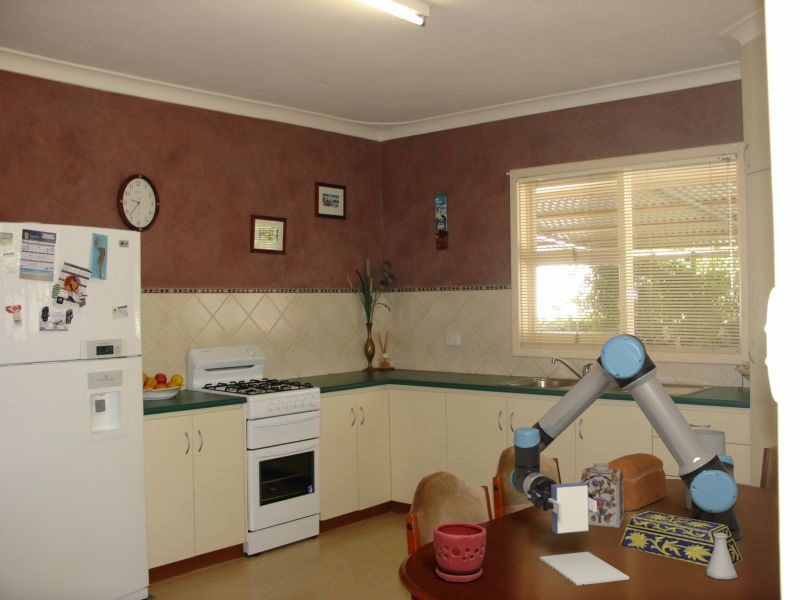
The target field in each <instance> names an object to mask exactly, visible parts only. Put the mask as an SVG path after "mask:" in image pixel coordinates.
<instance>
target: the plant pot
mask: <svg viewBox="0 0 800 600" xmlns="http://www.w3.org/2000/svg"><path fill="white" fill-rule="evenodd" d="M432 533H433V550H434V556H435V558H436V562H437V563H438V565H437V566H436V567H435V572H436V574H437V576H438V577H439V578H441V579H443V580H445V581H446V582H456V583H467V582H472V581H475V580H477V579H478V578H480V577H481V576H482V574H483V568H482V567H481V566H482V563H483V561H484V557H485V553H486V545H487V529H486V528H484V527H483V526H480V525H477V524H473V523H468V522H467V523H465V522H464V523H463V522H450V523H449V522H447V523H442V524H437V525H436V526H435V527H434V529H433V532H432Z"/></svg>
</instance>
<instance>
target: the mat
mask: <svg viewBox="0 0 800 600" xmlns="http://www.w3.org/2000/svg"><path fill="white" fill-rule="evenodd" d="M540 559H541V560H540ZM539 560H540V561H541V562H543V561H544V562H545V563H544V562H543V563H544V564H546V565H547V564H548V565H547V566H549V567H550V568H551V567H552V568H551V569H553V570H554V569H555V570H554V571H556V572H557V571H558V572H559V573H558V572H557V573H558V574H560V575H561V574H562V575H561V576H563V578H565V577H566V578H565V579H567V580H568V579H569V580H568V581H569V582H571V583H572V582H573V585H575V586H584V585H591V584H592V585H593V584H602V583H609V582H619V581H626V580H630V576H628V575H627V574H625V573H624V572H622V571H620V570H619V569H617V568H615V567H614V566H612V565H610V564H609V563H607V562H606V561H604V560H602V559H600V558H599V557H598V556H597V555H596V556H595V555H594V554H593V553H591V552H590V551H583V552H574V553H571V552H570V553H562V554H554V555H553V554H552V555H544V556H539ZM583 584H584V585H583Z"/></svg>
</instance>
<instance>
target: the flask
mask: <svg viewBox="0 0 800 600" xmlns="http://www.w3.org/2000/svg"><path fill="white" fill-rule="evenodd" d="M713 535H714V537H715V543H714V549H713V552H712V555H711V558H710V561H709V564H708V566H706V569H705V573H706V575H707V576H708V577H711V578H712V579H716V580H728V581H729V580H733V579H737V578H739V577H738V574H737V572H736V569H735V565H733V564H732V561H731V558H730V556H729V553H728V549H727V543H726V538H727V537H728V536H727V534H724V533H714V534H713Z"/></svg>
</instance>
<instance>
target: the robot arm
mask: <svg viewBox="0 0 800 600" xmlns="http://www.w3.org/2000/svg"><path fill="white" fill-rule="evenodd" d="M657 370H658V367H657V366H656V364H655V363H654V361H653V360H652V359H651V357H650V356H649V354H648V353H647V350H646V346H645V344H644V343H643V341H642V340H641V339H640V338H638V337H637V336H635V335H632V334H630V333H629V334H627V333H622V334H617V335H614V336H613V337H610V338H609V339H608V340H606V341H605V343H604V344H603V346H602V348H601V351H600V356H599V357H598V358H597V359H595V365H594V366H593V367H592V368H591V369H590V370H589V371H588V372H587V373H585V375H584V376H582V378H581V379H580V380H579V381H578V382H576V384H574V386H573V387H571V388H570V390H569V391H567V392H566V393H565V394H564V395H563V396H562V397H561V398H560V399H559V400H558V401H557V402H556V403H555V404H554V405H553V406H552V407H550V409H549V410H548V411H547V412H545V414H544V415H543V416H542V417H540V418H539V419H538V421H536V423H534V424H533V425H532V426H531V427H526V426H524V427H517V428H516V429H515V430H513V440H512V441H513V453H514V454H513V456H514V457H513V459H514V460H513V461H514V465H513V466H514V467H513V469H512V470H511V472H510V476H509V482H510V485H511V487H512V488H513V489H514V490H516V492H517V493H519V494H522V495H524V496H526V497H527V498H526V499H527V500H528V502H531V504H532V505H533V506H534V508H536V509H541V507H542V512H543V511H544V512H548V510H549V511H551V512H552V511H553V512H555V513H557V514H559V515H562V504H561V503H559V502H557V501H555V500H553V499H551V485H554V484H558V483H557V482H556V481H555V480H554V479H552V478H551V477H548V476H546V475H544V474H542V473H541V453H542V452H544V450H546V449H547V448H548V446H550V445H551V443H553V442H554V441H555V440H556V439H557V438H558V437H559V436H560V435H561V434H562V433H563V432H564V431H566V429H568V427H570V426H571V425H573V423H574V422H575V421H576V420H577V419H578V418H579V417H580V416H581V415H582V414H583V413H585V411H587V410H588V409H589V408H590V407H591V406H592V405H593V404H594V403H595V402H596V401H597V400H598V399H599V398H600V397H601V396H602V395H604V393H605V392H607V391H608V390H609V389H610V388H611V387H612V386H613V385H614V384H617V386H618V387H619V389H620V391H621V390H622V391H623V392H628V393H629V394H630V395H631V397H632V398H633V399H634V401H635V403H636V404H637V406H638V408H639V409H640V411H641V412H642V413H643V414H644V416H645V418H646V419H647V420H648V422H649V424H650V425H651V426H652V428H653V430H654V431H655V432H656V434H657V435H658V437H659V438H660V440H661V441H662V443H663V444H664V445H665V447H666V449H667V450H668V452H669V453H670V454H671V456H672V457H673V459H674V461H675V462H676V464H677V465H678V471H677V475H678V476H679V478H680V479H681V481H682V483H683V484H684V485H686V487H687V488H688V490H689V491H690V495H691V509H690V510H689V513H688V515H687V518H691V519H697V520H702V521H707V522H713V523H718V524H724V525H727V526H728V528H729V531H730V533H731V535H732V537H733V540H734V542H735V541H739V540H742V539H743V527H742V525H741V523H740V519H739V517H738V515H737V512H736V507H735V505H736V504H735V503H736V500H737V498H738V493H739V491H738V490H739V489H738V484H737V482H736V480H735V472H734V468H735V464H734V458H733V457H732V456H730V455H727V454H726V455H717V454H716V453H715V452H712V451H708V450H706V448H705V447H704V445H703V444H702V442H701V441H700V439H699V438H698V437H697V435H696V434H695V432H694V431H693V430H694V429H693V428H692V426H691V425H690V423H689V422H688V420H687V419H686V418H685V416H684V414H683V413H682V412H681V410H680V409H679V408H678V405H676V403H675V401H674V400H673V399H672V398H671V396H670V394H669V393H668V392H667V390H666V389H665V387H664V386H663V384H662V383H661V381H660V380H659V378H658V376H657ZM588 509H589V510H591V511H593V512H597V501H595V500H593V494H590V493H588Z"/></svg>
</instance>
